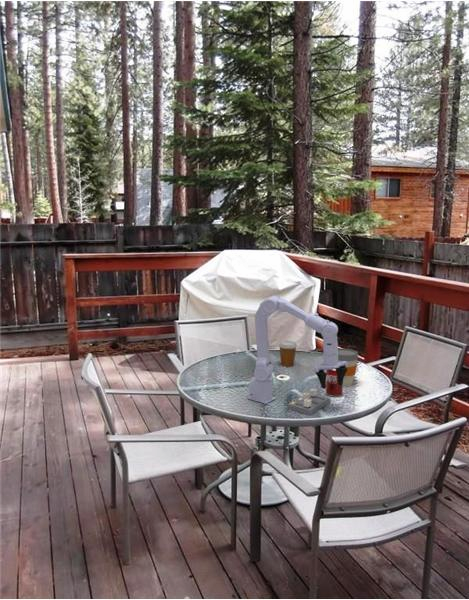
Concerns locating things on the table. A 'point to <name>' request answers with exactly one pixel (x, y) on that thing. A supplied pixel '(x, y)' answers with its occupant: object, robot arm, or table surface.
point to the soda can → (333, 384)
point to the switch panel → (316, 404)
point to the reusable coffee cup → (351, 358)
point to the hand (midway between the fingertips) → (331, 386)
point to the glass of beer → (287, 353)
